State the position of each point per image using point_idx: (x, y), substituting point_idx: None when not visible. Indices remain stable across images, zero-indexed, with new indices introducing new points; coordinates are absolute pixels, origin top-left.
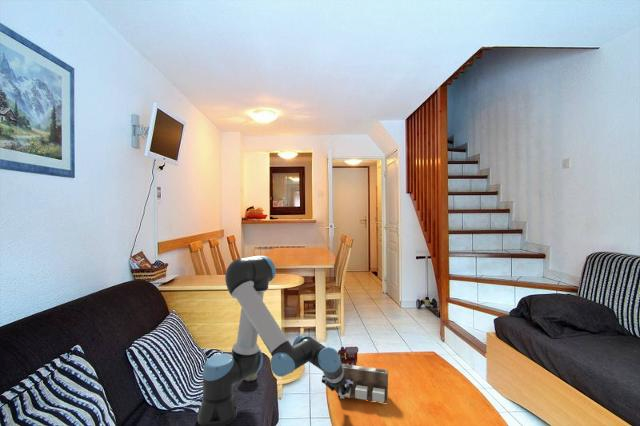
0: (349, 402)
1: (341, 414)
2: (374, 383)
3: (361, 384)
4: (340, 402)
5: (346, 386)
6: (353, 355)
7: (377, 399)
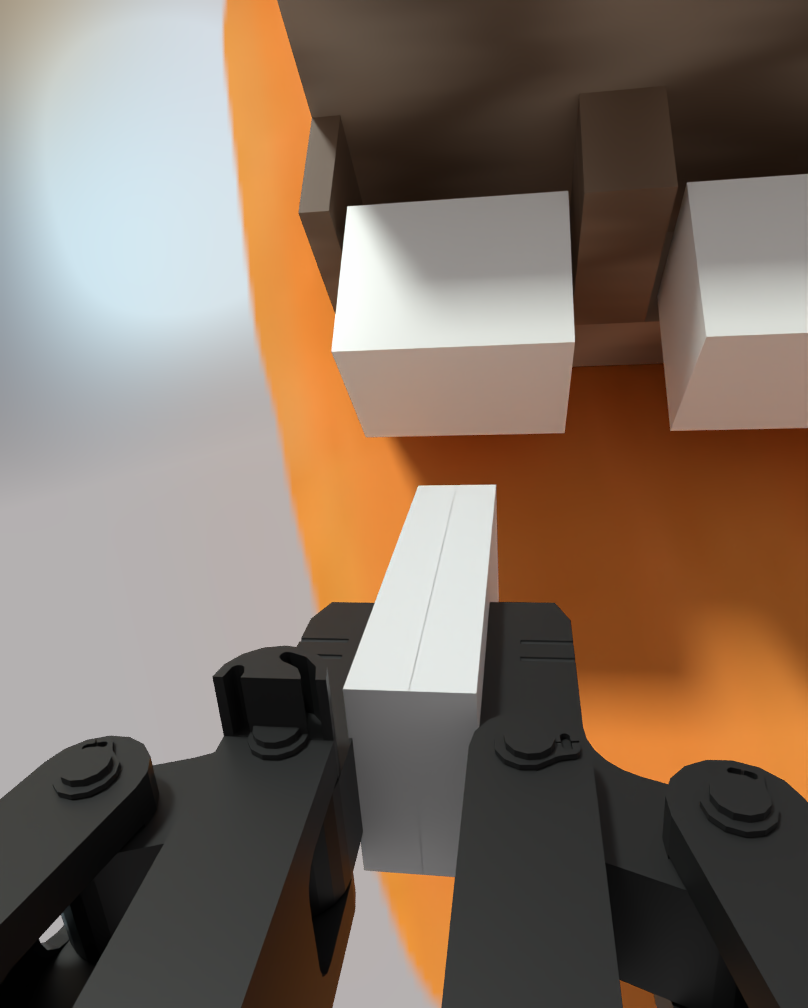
0: (560, 468)
1: None
2: None
3: (753, 121)
4: None
5: (681, 860)
6: None
7: None
